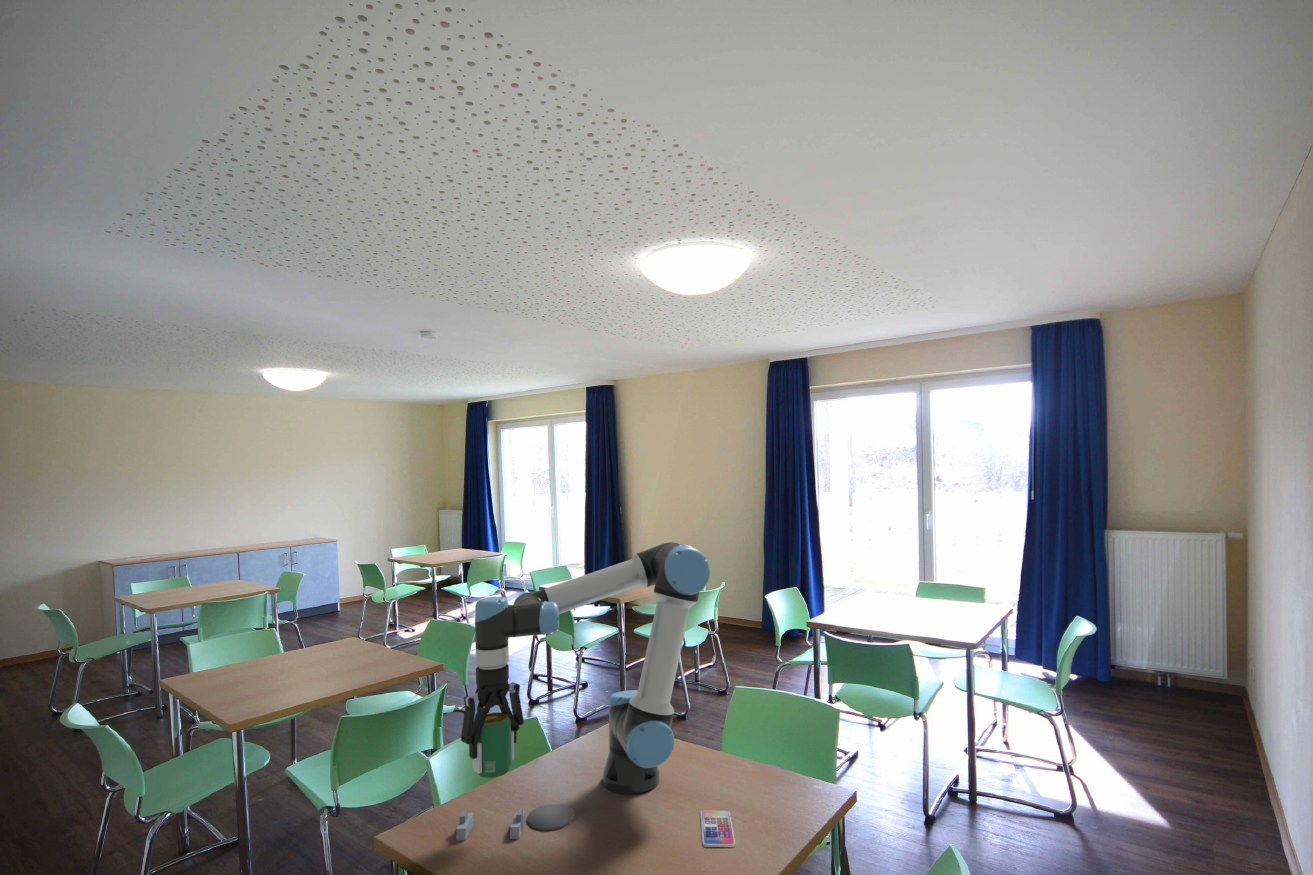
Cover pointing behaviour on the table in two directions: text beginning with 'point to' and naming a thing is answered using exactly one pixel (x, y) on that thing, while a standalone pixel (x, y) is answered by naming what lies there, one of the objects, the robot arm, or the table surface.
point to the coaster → (550, 817)
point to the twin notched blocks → (468, 822)
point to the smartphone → (716, 829)
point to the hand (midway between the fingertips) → (493, 764)
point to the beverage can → (495, 745)
